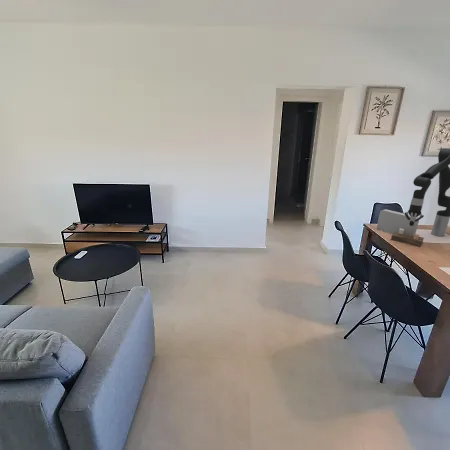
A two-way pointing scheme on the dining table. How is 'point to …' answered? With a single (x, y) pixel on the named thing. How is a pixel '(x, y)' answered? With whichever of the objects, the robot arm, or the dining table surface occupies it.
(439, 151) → the robot arm
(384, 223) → the rounded white slab
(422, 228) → the dining table surface
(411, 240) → the console
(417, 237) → the block
